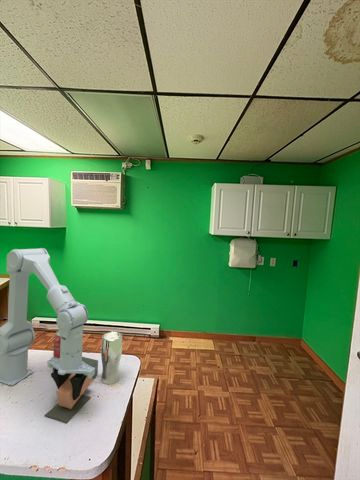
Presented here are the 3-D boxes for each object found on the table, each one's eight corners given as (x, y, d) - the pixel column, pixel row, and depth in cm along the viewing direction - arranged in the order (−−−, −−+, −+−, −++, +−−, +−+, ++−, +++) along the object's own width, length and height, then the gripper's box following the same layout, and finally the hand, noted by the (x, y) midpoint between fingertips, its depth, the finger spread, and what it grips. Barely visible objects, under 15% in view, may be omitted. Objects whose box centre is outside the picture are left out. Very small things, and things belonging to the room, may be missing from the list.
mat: (44, 416, 64) (44, 415, 64) (71, 392, 73) (71, 391, 73) (66, 423, 62) (66, 422, 62) (90, 397, 71) (90, 396, 71)
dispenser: (58, 381, 78) (59, 363, 78) (73, 369, 85) (73, 353, 85) (84, 388, 76) (85, 370, 75) (97, 375, 82) (98, 358, 82)
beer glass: (96, 384, 78) (98, 339, 77) (103, 371, 85) (105, 330, 84) (116, 386, 77) (119, 341, 77) (123, 373, 84) (125, 332, 84)
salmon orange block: (58, 405, 66) (56, 391, 65) (82, 377, 76) (80, 364, 74) (70, 408, 65) (68, 394, 64) (92, 380, 75) (91, 366, 73)
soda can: (66, 374, 82) (67, 337, 81) (48, 370, 83) (49, 334, 83) (78, 363, 89) (80, 329, 88) (61, 360, 90) (63, 326, 90)
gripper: (38, 351, 65) (37, 398, 65) (84, 361, 61) (81, 412, 62) (58, 339, 72) (56, 383, 72) (100, 348, 68) (98, 394, 68)
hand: (69, 395), depth 67 cm, fingers closed on salmon orange block, 4 cm apart
